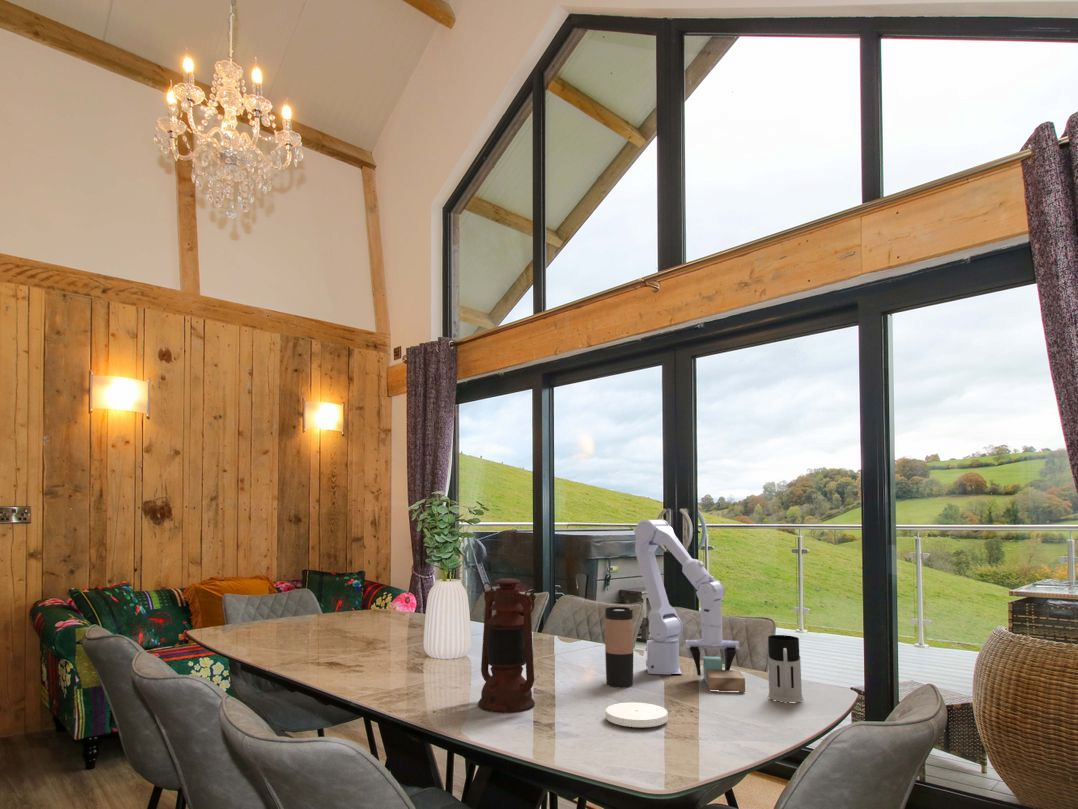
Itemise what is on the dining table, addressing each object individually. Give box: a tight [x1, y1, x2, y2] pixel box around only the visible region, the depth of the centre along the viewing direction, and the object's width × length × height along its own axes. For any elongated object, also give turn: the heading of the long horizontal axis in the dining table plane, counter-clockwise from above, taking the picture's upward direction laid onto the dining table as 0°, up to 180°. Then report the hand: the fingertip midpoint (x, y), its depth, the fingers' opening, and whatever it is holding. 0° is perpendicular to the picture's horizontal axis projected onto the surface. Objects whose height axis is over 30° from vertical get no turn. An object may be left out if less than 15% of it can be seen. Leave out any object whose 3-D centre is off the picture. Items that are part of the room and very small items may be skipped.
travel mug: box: [604, 606, 634, 688], centre depth 202 cm, size 8×8×20 cm
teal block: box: [702, 656, 723, 681], centre depth 206 cm, size 4×4×6 cm
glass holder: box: [767, 634, 805, 703], centre depth 186 cm, size 9×14×15 cm, turn 164°
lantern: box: [477, 577, 537, 714], centre depth 183 cm, size 17×14×30 cm
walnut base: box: [705, 669, 746, 693], centre depth 198 cm, size 9×9×4 cm
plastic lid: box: [605, 701, 669, 728], centre depth 168 cm, size 14×14×2 cm
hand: (712, 675), depth 206 cm, fingers open, 7 cm apart
